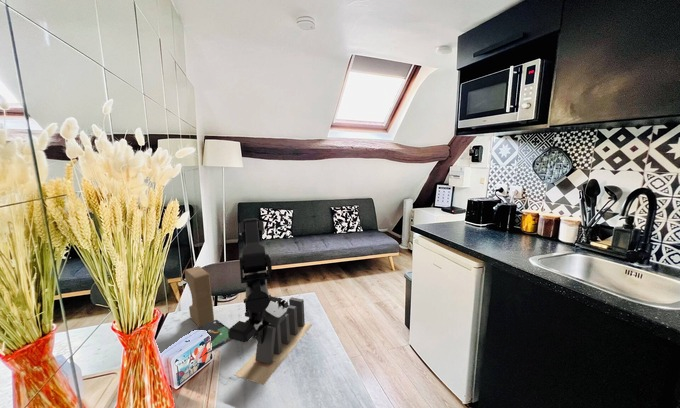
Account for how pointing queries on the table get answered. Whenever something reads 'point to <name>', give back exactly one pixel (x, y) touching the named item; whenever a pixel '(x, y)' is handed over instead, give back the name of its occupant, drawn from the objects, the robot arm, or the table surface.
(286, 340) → the domino
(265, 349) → the domino
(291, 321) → the domino
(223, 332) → the disk drive
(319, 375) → the table surface
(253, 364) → the board
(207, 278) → the decorative block
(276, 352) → the domino
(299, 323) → the domino
